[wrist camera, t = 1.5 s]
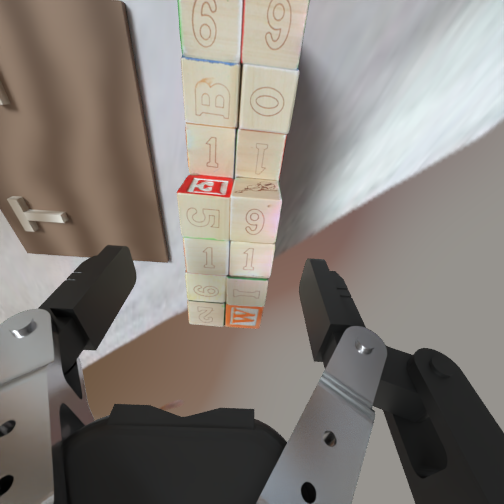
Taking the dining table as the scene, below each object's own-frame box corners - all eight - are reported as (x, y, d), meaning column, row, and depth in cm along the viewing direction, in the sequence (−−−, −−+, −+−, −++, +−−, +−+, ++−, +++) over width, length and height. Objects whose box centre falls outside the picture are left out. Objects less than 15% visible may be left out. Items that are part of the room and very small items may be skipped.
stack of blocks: (209, 12, 17) (147, -83, 7) (291, 24, 18) (338, -52, 8) (210, 245, 30) (187, 327, 20) (258, 250, 30) (259, 332, 20)
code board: (124, 3, 17) (115, -3, 16) (168, 259, 31) (165, 266, 30) (-134, -24, 16) (-162, -32, 15) (31, 250, 31) (22, 256, 29)
